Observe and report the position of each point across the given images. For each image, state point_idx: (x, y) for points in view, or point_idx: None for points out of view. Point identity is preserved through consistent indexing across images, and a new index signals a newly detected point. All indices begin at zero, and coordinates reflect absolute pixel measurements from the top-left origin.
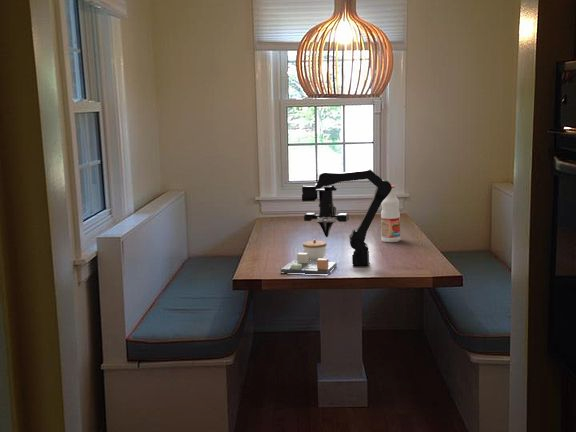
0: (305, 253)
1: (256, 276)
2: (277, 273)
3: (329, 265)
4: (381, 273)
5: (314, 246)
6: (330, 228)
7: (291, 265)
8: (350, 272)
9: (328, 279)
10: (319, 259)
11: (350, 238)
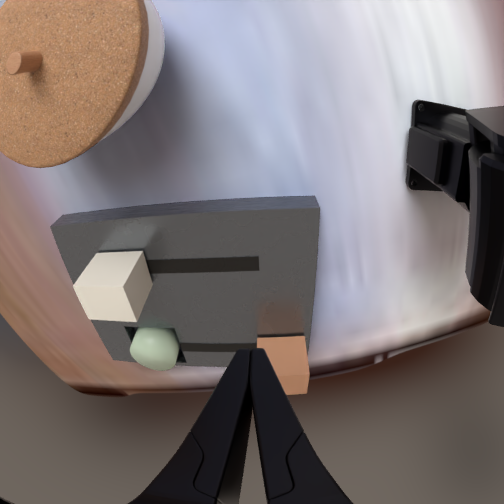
0: (119, 302)
1: (82, 369)
2: None
3: (295, 289)
4: None
5: (80, 154)
6: (308, 446)
7: (139, 363)
8: (397, 287)
9: (319, 375)
10: None
11: (496, 323)
